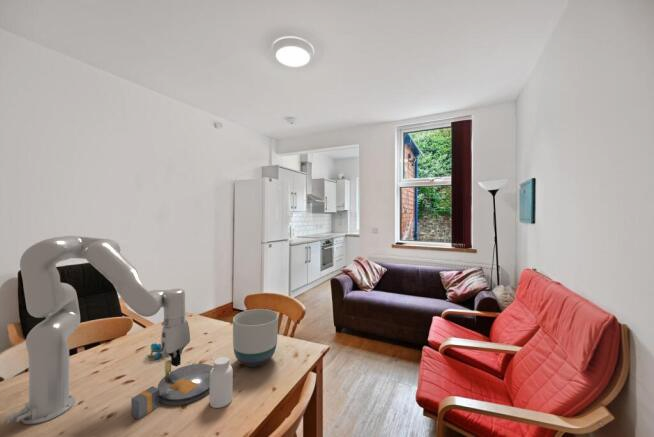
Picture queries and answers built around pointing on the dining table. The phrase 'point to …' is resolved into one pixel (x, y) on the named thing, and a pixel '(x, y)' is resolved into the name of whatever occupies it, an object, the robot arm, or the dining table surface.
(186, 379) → the turntable
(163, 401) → the base plate
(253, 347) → the planter
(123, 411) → the dining table surface
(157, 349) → the blue green toy
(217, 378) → the pill bottle
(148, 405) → the link block
